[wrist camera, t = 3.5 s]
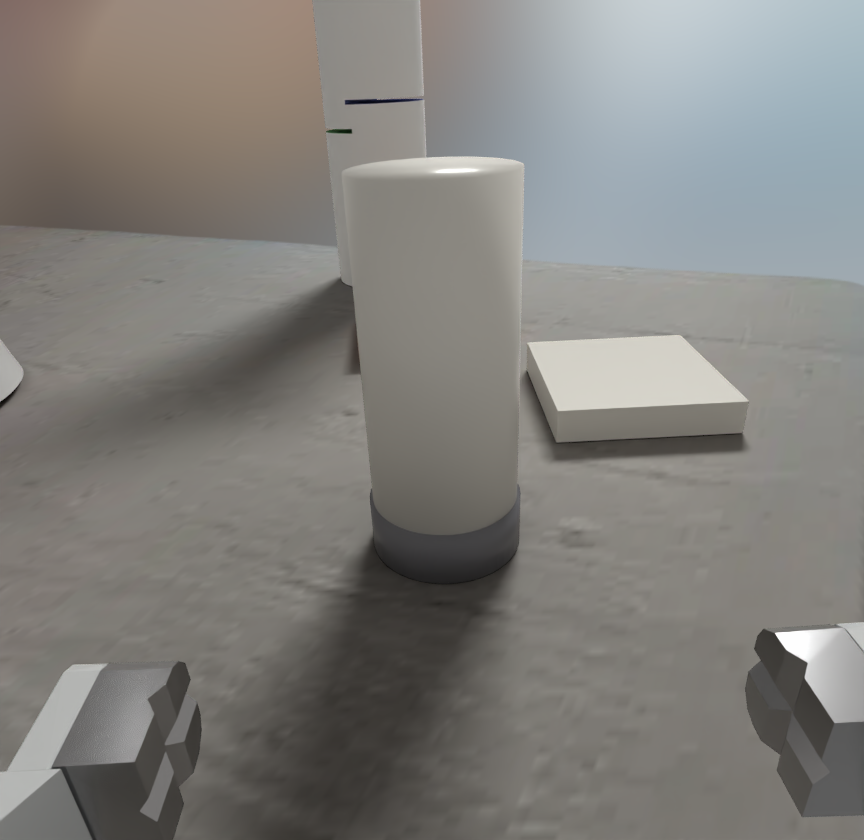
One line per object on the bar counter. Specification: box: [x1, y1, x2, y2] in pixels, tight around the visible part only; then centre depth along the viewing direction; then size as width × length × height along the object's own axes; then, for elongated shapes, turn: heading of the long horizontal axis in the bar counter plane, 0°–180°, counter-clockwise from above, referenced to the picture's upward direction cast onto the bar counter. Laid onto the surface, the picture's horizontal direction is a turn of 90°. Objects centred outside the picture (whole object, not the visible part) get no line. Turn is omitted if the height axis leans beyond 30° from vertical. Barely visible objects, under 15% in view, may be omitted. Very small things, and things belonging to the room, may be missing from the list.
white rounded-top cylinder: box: [342, 157, 524, 584], centre depth 21 cm, size 5×5×12 cm
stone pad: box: [527, 335, 749, 443], centre depth 32 cm, size 8×8×2 cm
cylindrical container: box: [312, 0, 426, 286], centre depth 48 cm, size 7×7×25 cm
